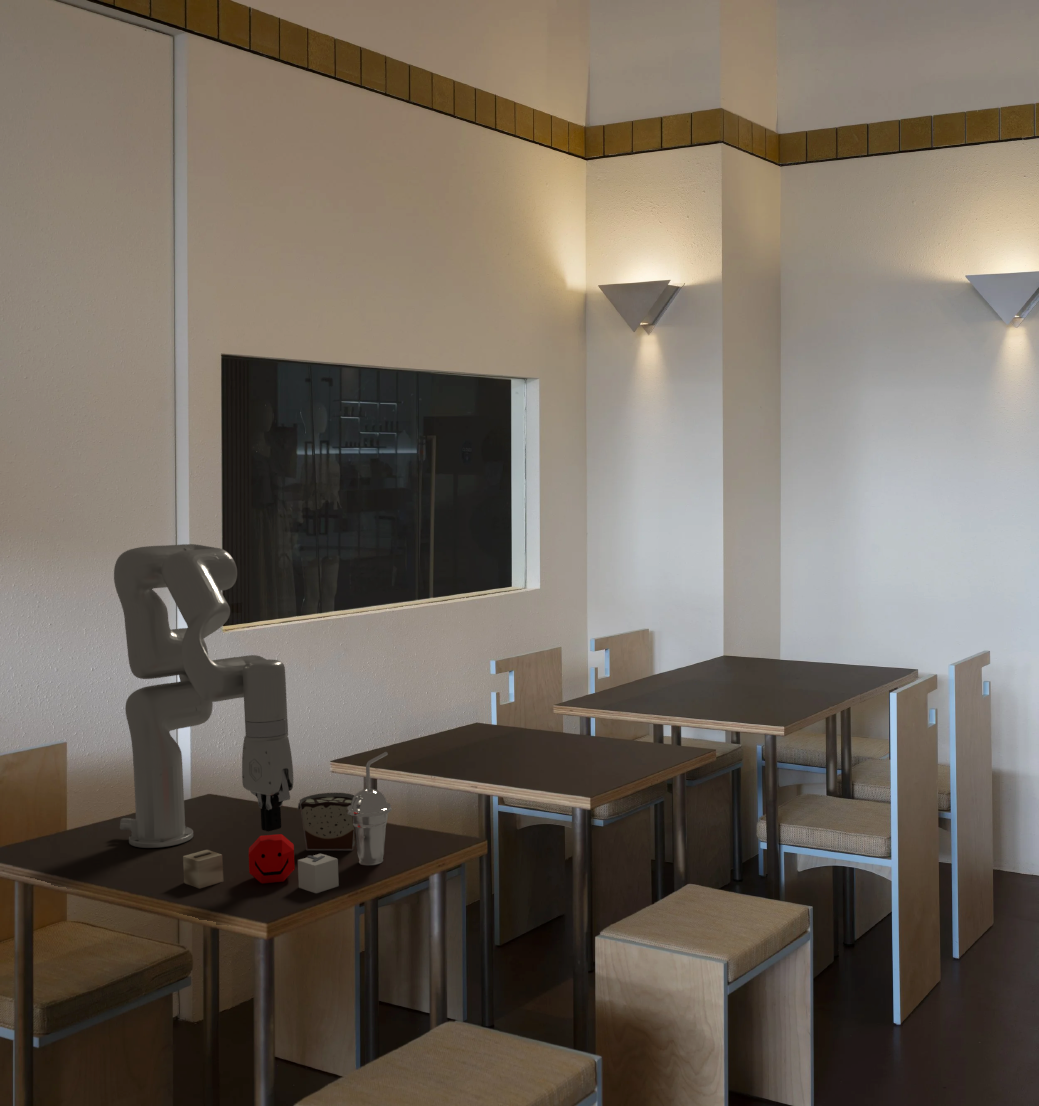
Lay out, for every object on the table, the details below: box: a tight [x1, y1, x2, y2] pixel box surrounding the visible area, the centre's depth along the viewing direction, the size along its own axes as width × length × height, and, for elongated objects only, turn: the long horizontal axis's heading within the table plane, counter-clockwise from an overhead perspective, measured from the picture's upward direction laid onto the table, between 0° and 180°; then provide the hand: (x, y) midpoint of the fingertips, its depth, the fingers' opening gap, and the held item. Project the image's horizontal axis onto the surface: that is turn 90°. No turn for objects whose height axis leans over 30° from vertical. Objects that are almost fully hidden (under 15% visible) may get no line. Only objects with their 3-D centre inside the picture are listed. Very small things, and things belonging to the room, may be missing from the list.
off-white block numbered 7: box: [297, 853, 340, 894], centre depth 216 cm, size 5×5×5 cm
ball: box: [248, 833, 296, 884], centre depth 221 cm, size 8×8×8 cm
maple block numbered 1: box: [182, 849, 224, 889], centre depth 221 cm, size 5×5×5 cm
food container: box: [297, 792, 356, 851], centre depth 241 cm, size 12×6×10 cm, turn 84°
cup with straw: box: [346, 751, 393, 866], centre depth 229 cm, size 8×9×20 cm
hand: (271, 829), depth 221 cm, fingers closed
